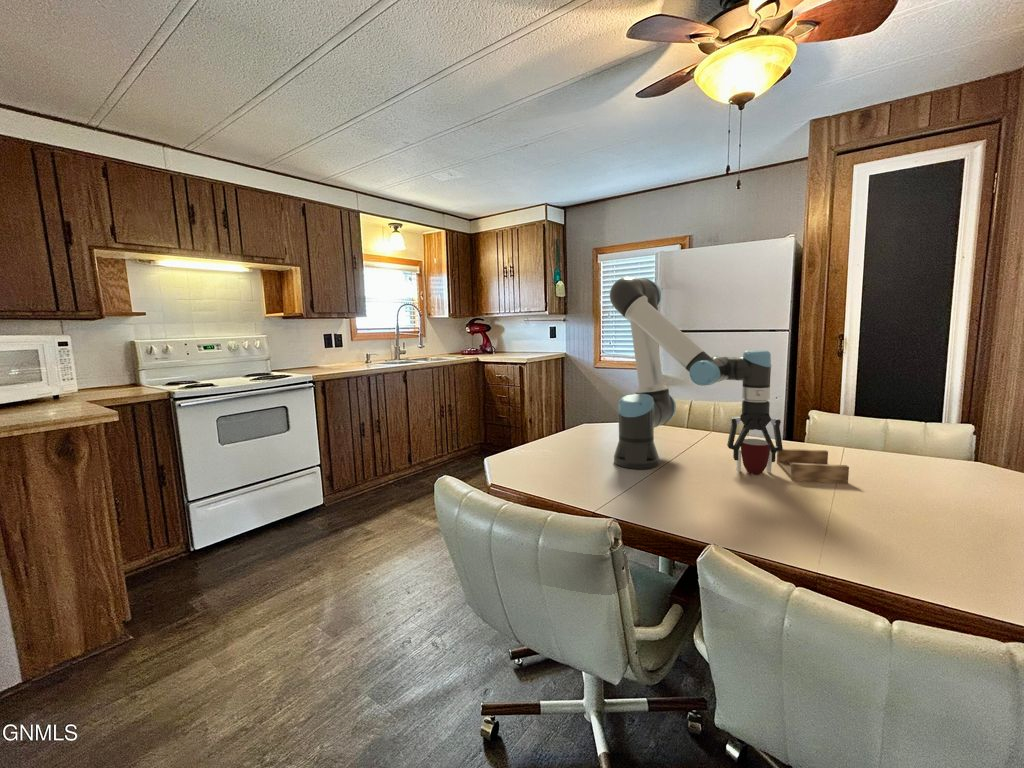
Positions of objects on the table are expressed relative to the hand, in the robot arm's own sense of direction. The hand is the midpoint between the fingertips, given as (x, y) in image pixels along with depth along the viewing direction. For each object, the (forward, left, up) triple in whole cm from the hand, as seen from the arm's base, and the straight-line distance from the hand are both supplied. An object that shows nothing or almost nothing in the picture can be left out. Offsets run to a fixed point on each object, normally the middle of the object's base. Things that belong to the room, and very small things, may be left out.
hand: (753, 470), depth 139 cm
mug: (0, 0, -1) cm, 1 cm away
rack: (+16, +2, 0) cm, 16 cm away
